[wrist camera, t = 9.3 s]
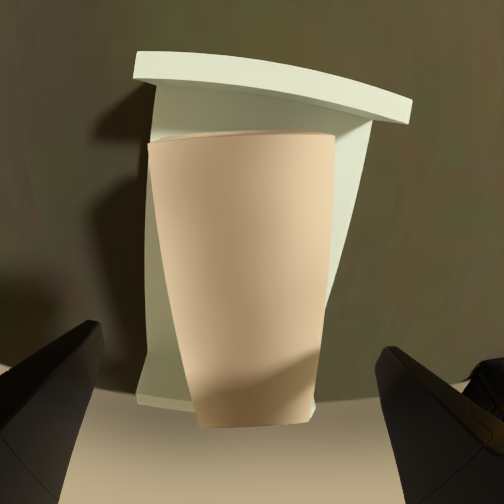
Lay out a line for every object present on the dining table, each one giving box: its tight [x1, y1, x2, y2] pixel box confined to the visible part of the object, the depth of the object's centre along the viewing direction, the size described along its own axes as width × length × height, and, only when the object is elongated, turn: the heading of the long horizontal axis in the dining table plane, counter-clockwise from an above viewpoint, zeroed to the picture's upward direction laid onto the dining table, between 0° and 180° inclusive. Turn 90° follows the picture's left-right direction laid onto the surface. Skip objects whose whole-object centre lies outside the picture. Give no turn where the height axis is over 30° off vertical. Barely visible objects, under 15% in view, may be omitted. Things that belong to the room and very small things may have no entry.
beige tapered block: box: [148, 129, 335, 428], centre depth 12 cm, size 5×12×3 cm, turn 2°
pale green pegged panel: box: [133, 51, 413, 418], centre depth 15 cm, size 10×17×4 cm, turn 171°
